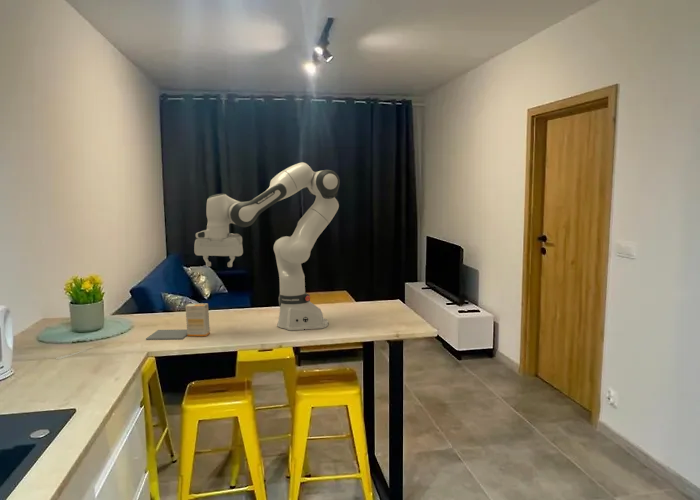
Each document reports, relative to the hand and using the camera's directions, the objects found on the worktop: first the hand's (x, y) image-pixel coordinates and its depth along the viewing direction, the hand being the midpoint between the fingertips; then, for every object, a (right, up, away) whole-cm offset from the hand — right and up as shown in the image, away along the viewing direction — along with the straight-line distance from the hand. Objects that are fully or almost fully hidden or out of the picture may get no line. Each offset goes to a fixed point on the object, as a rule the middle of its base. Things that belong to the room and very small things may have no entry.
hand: (219, 266), depth 214 cm
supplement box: (-9, -29, +1) cm, 30 cm away
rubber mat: (-21, -29, +1) cm, 36 cm away
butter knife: (-46, -32, -17) cm, 59 cm away
